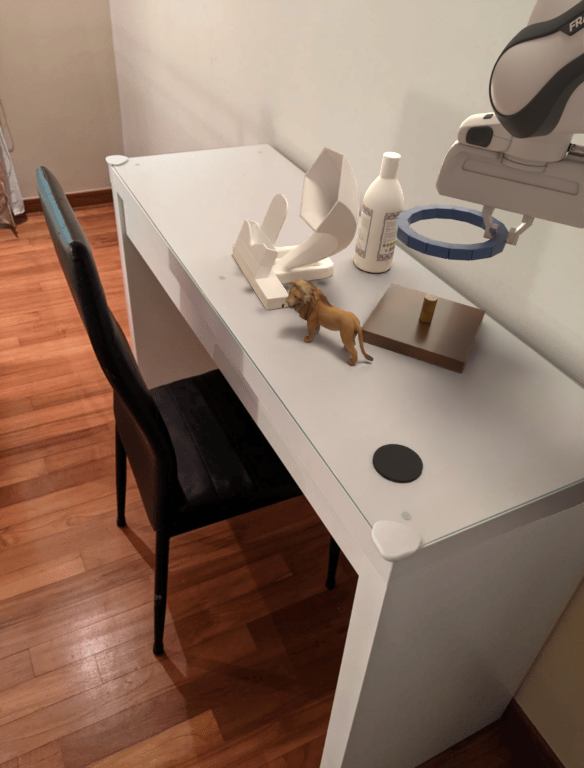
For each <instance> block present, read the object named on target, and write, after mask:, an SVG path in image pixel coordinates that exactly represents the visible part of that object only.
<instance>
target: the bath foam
mask: <svg viewBox="0 0 584 768" xmlns="http://www.w3.org/2000/svg"><path fill="white" fill-rule="evenodd" d="M401 161H402V154H400V153H398V152H394V151H386V152H384V153H383V155H382V159H381V165H380V171H379V175H378V176H377V177H376V178H375V180H373V181H372V183H370V185H369V187H368V188H367V190H366V192H365V193H364V196H363V200H362V205H361V211H360V216H359V223H358V228H357V235H356V241H355V246H354V254H353V263H354V265H355V266H356V267H357V268H358V269H359V270H361V271H364V272H367V273H373V274H374V273H375V274H379V273H385V272H387V271H388V270H389V269H391V267H392V263H393V259H394V254H395V249H396V244H397V240H398V238H397V236H396V232H395V224H396V218H397V217H398V216H399V214H400V213H401V212H402V211H404V204H405V198H404V192H403V188H402V186H401V184H400V181H399V179H398V175H399V172H400V171H399V170H400V165H401Z"/></svg>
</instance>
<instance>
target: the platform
mask: <svg viewBox="0 0 584 768" xmlns="http://www.w3.org/2000/svg"><path fill="white" fill-rule="evenodd" d="M486 313H487V311H486V310H485V309H481V308H477V307H475V306H471V305H467V304H464V303H460V302H457V301H453V300H450V299H447V298H443V297H440V296H437V295H435V294H431V293H426V292H424V291H419V290H417V289H413V288H410V287H406V286H404V285H403V286H402V285H400V284H396V283H394V282H393V283H391V284H390V286H389V287H388V288H387V290H386V291H385V293H384V294H383V295H382V297H381V299H380V300H379V302H378V303H377V304H376V306H375V307H374V309H373V310H372V312H371V313H370V314H369V316H368V317H367V319H366V320H365V322H363V324H362V326H361V330H362V336H363V343H366V344H367V343H368V344H370V345H374V346H377V347H380V348H383V349H386V350H389V351H392V352H395V353H398V354H401V355H404V356H407V357H409V358H414V359H417V360H420V361H422V362H425V363H427V364H428V363H429V364H432V365H434V366H437V367H441V368H445V369H446V370H450V371H453V372H456V373H459V374H462V373H463V371H464V368H465V365H466V363H467V361H468V358H469V355H470V353H471V351H472V348H473V346H474V343H475V341H476V338H477V335H478V333H479V331H480V328H481V325H482V323H483V321H484V319H485V318H484V317H485V314H486ZM357 339H358V338H357ZM358 341H359V339H358Z"/></svg>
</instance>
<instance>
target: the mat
mask: <svg viewBox="0 0 584 768" xmlns="http://www.w3.org/2000/svg"><path fill="white" fill-rule="evenodd" d="M372 465H373V467H374V469H375V471H376V472H377V473H378V474H379V475H380V476H381V477H383V478H384V479H386V480H388V481H391V482H394V483H400V484H402V483H403V484H405V483H407V484H408V483H412V482H414V481H415V480H417V479H419V478H420V476H421V475H422V473H423V469H424V463H423V460H422V458H421V457H420V455H419V454H418V453H417V451H415V450H414V449H412V448H410V447H408V446H405V445H403V444H399V443H388V444H383V445H381V446H379V447H378V448H377V449H376V450H375V451H374V453H373V456H372Z"/></svg>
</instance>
